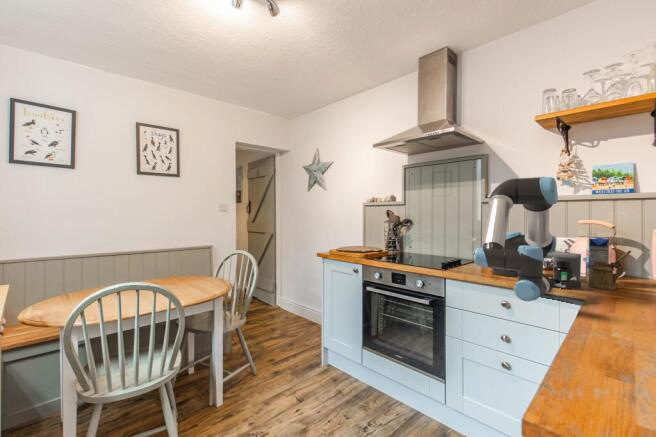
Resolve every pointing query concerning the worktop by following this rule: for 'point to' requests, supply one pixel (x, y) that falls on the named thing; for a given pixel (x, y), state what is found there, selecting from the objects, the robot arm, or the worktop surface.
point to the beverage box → (595, 254)
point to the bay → (569, 257)
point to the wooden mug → (606, 274)
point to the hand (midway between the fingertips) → (555, 277)
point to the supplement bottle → (563, 271)
